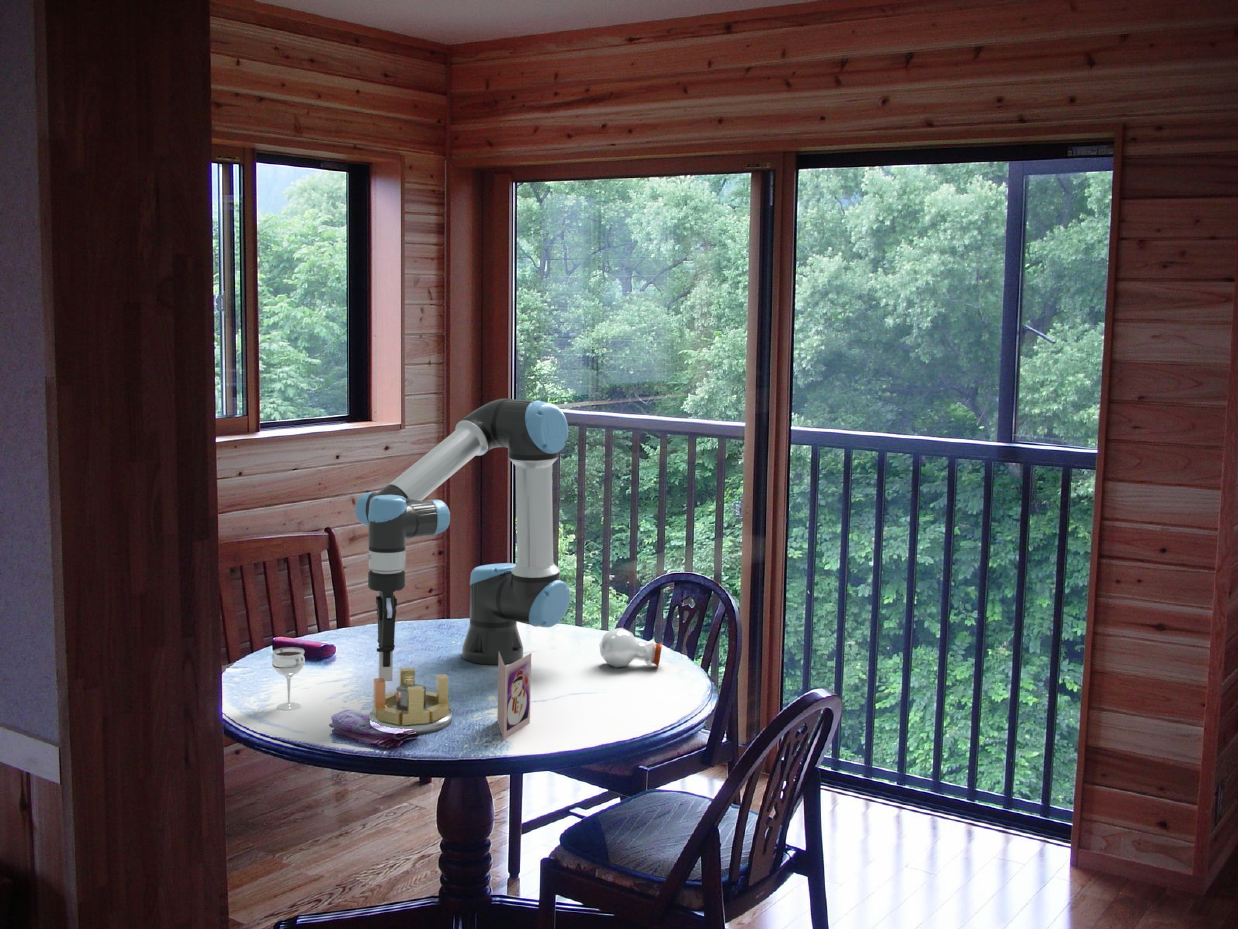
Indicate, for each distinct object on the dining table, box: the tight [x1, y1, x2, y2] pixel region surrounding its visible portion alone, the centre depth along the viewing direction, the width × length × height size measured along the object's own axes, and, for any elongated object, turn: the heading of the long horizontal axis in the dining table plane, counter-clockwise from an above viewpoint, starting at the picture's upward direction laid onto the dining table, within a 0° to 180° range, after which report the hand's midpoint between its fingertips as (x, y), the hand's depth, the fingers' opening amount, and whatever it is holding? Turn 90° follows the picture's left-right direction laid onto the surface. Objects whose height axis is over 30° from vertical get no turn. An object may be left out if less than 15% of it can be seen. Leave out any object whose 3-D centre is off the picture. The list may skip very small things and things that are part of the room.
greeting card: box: [496, 652, 532, 740], centre depth 245 cm, size 11×7×15 cm, turn 157°
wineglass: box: [271, 647, 306, 711], centre depth 255 cm, size 7×7×12 cm
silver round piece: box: [368, 683, 453, 735], centre depth 248 cm, size 17×17×7 cm
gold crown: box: [372, 667, 450, 725], centre depth 248 cm, size 15×15×7 cm
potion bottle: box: [599, 627, 663, 668], centre depth 292 cm, size 9×10×15 cm
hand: (385, 680), depth 251 cm, fingers closed
